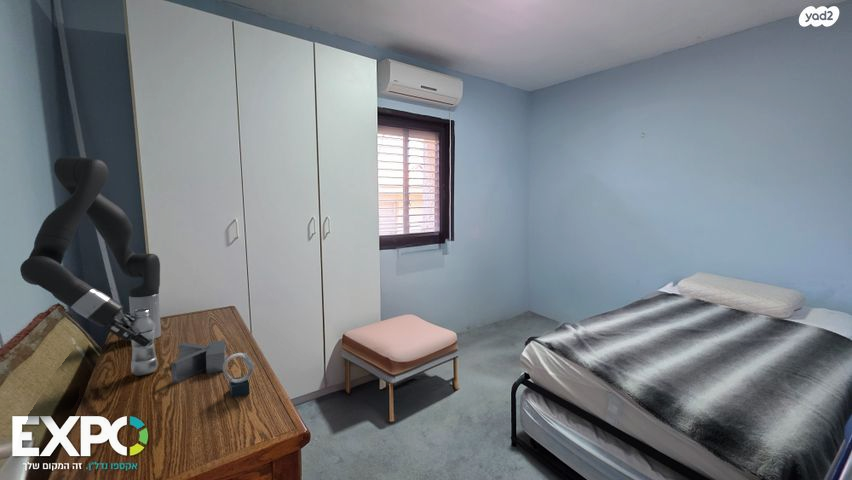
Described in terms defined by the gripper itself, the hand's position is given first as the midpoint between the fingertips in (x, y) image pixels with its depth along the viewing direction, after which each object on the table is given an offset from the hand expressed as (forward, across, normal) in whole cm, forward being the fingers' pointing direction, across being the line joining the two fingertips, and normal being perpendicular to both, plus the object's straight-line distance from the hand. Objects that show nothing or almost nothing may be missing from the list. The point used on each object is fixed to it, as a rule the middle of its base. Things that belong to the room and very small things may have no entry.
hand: (149, 340), depth 112 cm
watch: (+25, -25, -10) cm, 36 cm away
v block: (+17, -3, -2) cm, 17 cm away
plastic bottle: (+6, 0, +9) cm, 11 cm away
